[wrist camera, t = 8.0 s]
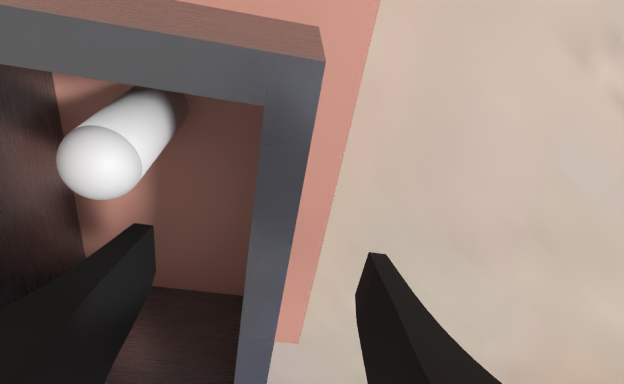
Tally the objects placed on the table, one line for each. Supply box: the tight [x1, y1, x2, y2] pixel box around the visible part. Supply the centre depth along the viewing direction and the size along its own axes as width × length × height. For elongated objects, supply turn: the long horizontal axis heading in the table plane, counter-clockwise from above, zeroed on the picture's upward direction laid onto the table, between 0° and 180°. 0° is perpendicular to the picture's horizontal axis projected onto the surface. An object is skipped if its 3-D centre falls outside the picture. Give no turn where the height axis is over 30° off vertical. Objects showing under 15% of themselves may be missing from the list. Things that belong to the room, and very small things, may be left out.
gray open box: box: [0, 0, 326, 384], centre depth 13 cm, size 14×10×5 cm
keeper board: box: [52, 0, 380, 344], centre depth 14 cm, size 18×14×7 cm
